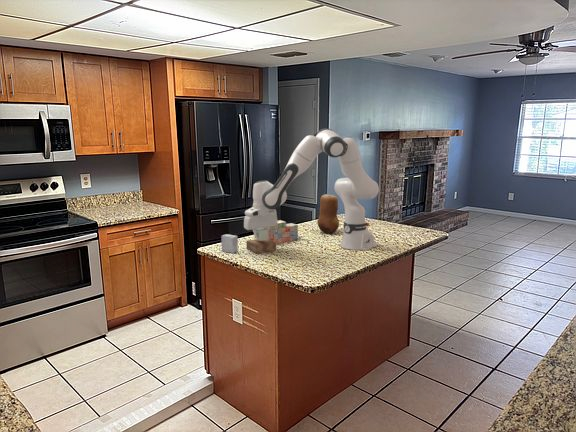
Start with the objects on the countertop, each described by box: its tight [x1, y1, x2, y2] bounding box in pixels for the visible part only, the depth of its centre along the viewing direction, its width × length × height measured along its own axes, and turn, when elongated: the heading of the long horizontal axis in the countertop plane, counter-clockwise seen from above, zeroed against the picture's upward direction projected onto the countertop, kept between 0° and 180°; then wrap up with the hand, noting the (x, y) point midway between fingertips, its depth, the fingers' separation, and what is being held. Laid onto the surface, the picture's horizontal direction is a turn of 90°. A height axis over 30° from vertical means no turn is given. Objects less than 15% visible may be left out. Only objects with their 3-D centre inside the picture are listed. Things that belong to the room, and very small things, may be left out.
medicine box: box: [220, 234, 239, 254], centre depth 227 cm, size 8×4×9 cm, turn 59°
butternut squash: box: [317, 193, 340, 235], centre depth 270 cm, size 14×13×25 cm
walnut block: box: [246, 238, 277, 255], centre depth 230 cm, size 12×12×5 cm
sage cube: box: [254, 228, 268, 240], centre depth 229 cm, size 5×5×5 cm
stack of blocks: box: [264, 219, 299, 245], centre depth 249 cm, size 21×6×12 cm, turn 129°
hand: (261, 235), depth 229 cm, fingers closed on sage cube, 5 cm apart
